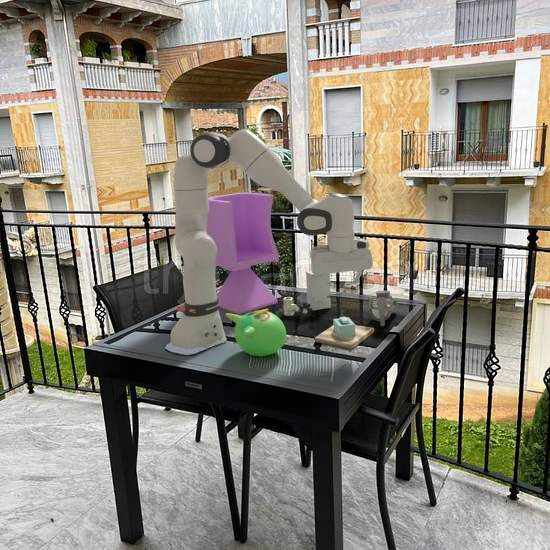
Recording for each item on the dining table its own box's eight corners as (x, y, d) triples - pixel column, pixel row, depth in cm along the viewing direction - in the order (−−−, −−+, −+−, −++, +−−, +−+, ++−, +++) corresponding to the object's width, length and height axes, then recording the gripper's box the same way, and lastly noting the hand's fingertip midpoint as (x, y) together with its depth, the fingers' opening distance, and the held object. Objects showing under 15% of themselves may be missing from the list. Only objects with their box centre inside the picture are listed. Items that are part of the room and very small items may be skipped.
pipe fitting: (389, 322, 191) (388, 294, 190) (368, 321, 196) (367, 293, 194) (402, 315, 201) (401, 288, 199) (382, 314, 205) (381, 288, 204)
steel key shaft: (349, 334, 180) (348, 320, 179) (343, 335, 180) (342, 321, 179) (345, 330, 184) (345, 316, 183) (340, 331, 184) (339, 317, 182)
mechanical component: (370, 322, 194) (369, 296, 191) (398, 325, 189) (397, 298, 186) (367, 325, 191) (366, 298, 189) (395, 328, 186) (394, 301, 183)
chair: (236, 317, 210) (225, 202, 198) (208, 304, 228) (196, 199, 216) (282, 303, 223) (274, 194, 211) (251, 292, 240) (242, 191, 228)
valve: (279, 315, 208) (300, 322, 199) (278, 299, 207) (299, 305, 198) (291, 311, 212) (313, 317, 203) (290, 295, 211) (312, 301, 202)
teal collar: (355, 335, 179) (355, 323, 178) (339, 337, 178) (339, 325, 177) (348, 328, 186) (348, 316, 185) (333, 330, 185) (333, 318, 184)
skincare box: (312, 311, 210) (309, 274, 206) (307, 306, 216) (304, 271, 212) (332, 307, 212) (330, 271, 208) (326, 303, 218) (324, 268, 214)
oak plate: (352, 349, 172) (352, 344, 172) (315, 341, 180) (314, 337, 180) (374, 332, 185) (373, 328, 184) (338, 326, 193) (338, 322, 192)
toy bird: (297, 355, 171) (294, 311, 167) (250, 370, 163) (245, 324, 159) (269, 338, 186) (266, 298, 182) (225, 351, 178) (220, 309, 174)
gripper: (311, 248, 169) (314, 290, 173) (374, 242, 172) (374, 283, 176) (307, 244, 175) (309, 285, 179) (367, 238, 178) (368, 278, 182)
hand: (342, 284), depth 177 cm, fingers open, 8 cm apart
